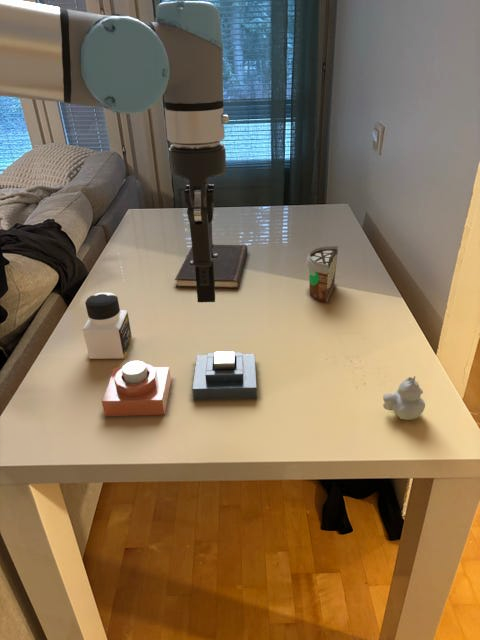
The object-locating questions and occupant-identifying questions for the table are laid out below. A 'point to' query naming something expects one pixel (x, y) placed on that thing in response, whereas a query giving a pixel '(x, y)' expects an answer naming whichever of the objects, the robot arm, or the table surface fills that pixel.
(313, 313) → the table surface
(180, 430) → the table surface
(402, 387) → the white lumpy figurine
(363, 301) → the table surface
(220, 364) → the pump square
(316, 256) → the food container
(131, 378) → the white round push button
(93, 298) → the medicine bottle
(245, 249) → the hardcover book
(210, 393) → the push button base
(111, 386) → the orange button base
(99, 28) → the robot arm
